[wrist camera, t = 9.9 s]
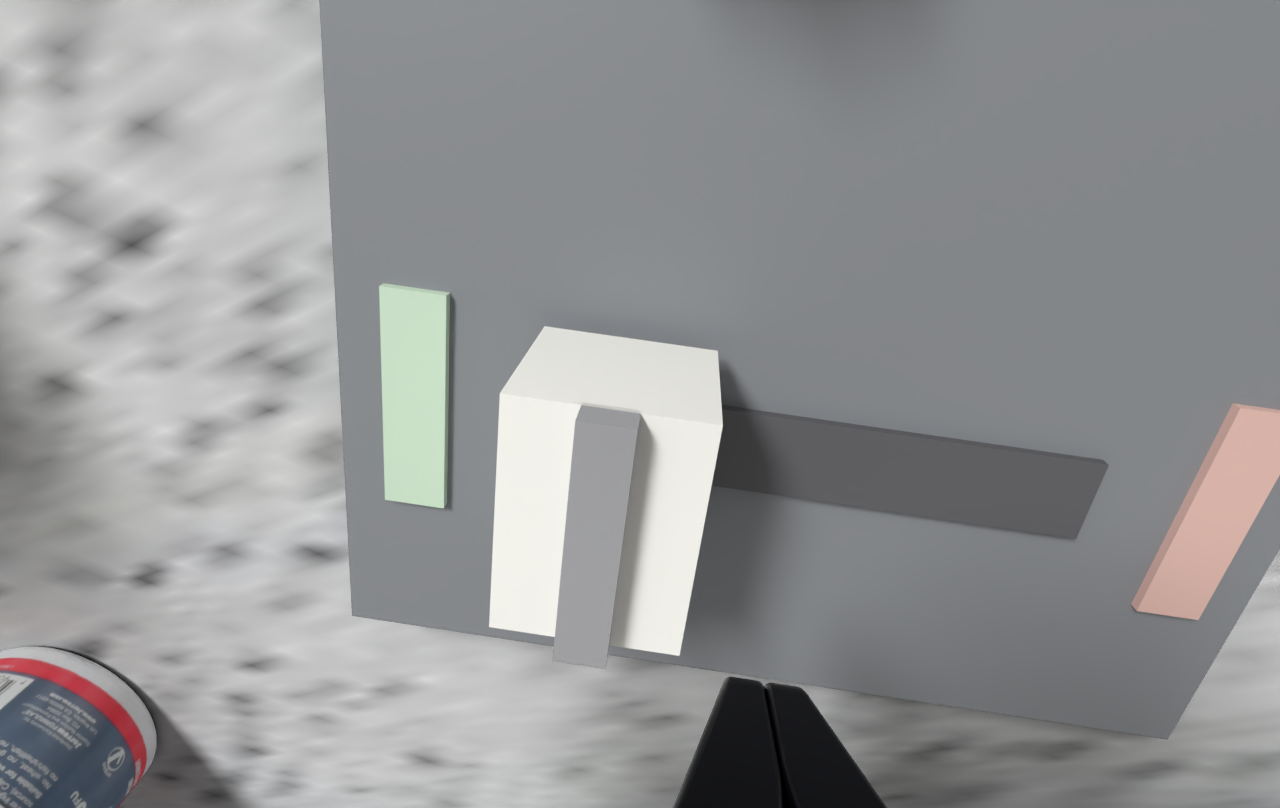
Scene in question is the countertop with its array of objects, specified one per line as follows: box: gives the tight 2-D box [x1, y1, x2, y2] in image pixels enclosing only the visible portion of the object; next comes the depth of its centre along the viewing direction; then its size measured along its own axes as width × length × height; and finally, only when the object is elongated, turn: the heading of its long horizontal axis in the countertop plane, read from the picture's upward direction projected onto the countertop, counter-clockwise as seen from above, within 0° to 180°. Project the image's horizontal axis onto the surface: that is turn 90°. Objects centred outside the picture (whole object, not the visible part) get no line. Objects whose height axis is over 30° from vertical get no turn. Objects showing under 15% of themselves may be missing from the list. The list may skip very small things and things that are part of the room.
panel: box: [319, 0, 1280, 739], centre depth 12 cm, size 18×23×2 cm
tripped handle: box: [489, 326, 723, 669], centre depth 11 cm, size 3×4×4 cm
